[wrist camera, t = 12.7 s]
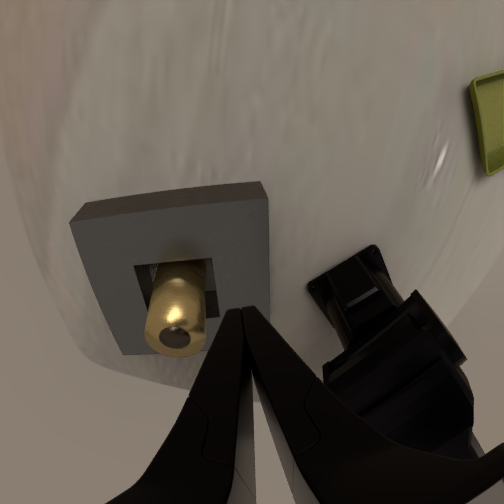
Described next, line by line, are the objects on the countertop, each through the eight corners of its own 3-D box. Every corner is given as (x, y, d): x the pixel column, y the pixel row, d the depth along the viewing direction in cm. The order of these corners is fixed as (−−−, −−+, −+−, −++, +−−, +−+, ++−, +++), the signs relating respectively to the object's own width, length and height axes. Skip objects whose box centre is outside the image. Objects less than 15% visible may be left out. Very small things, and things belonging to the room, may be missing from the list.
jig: (264, 317, 26) (269, 343, 23) (128, 329, 25) (123, 355, 22) (260, 181, 19) (268, 198, 17) (85, 203, 18) (69, 222, 16)
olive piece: (508, 62, 15) (524, 65, 14) (520, 143, 20) (534, 150, 18) (455, 75, 16) (472, 78, 15) (471, 170, 21) (486, 178, 19)
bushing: (214, 271, 23) (218, 342, 17) (179, 293, 23) (173, 364, 17) (185, 238, 21) (177, 306, 15) (148, 263, 22) (131, 332, 16)
